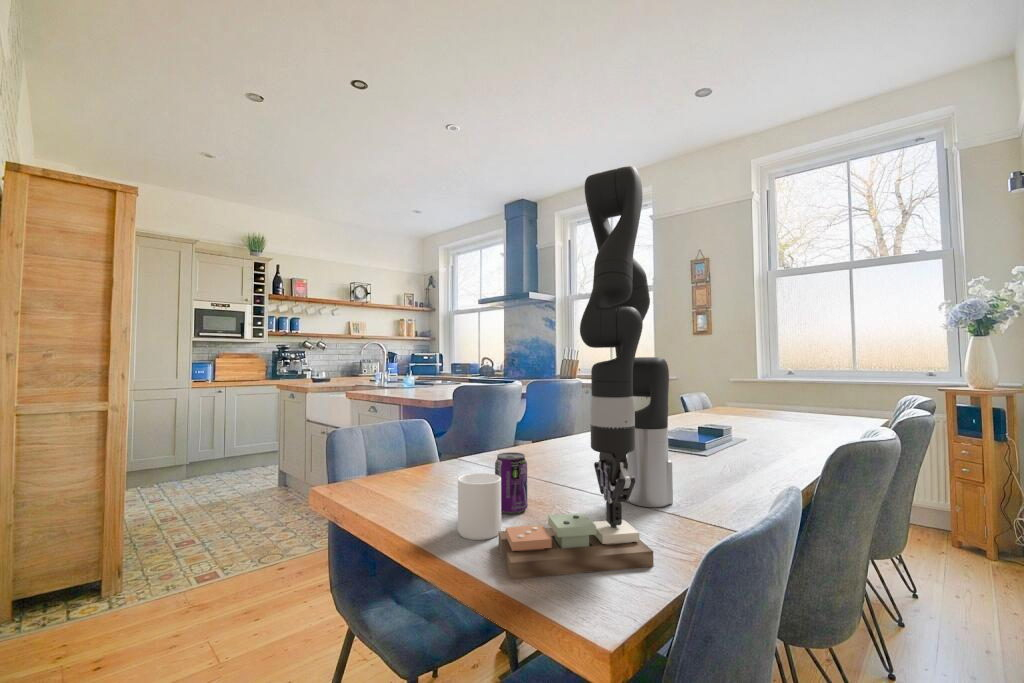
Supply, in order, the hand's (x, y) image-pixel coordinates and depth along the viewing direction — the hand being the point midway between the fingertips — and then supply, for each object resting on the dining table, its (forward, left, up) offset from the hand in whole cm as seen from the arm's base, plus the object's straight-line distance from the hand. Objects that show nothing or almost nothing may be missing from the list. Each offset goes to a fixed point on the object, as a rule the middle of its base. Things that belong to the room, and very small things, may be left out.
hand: (614, 523), depth 80 cm
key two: (+8, 0, -3) cm, 8 cm away
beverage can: (+14, -25, -5) cm, 29 cm away
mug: (+22, -15, -5) cm, 27 cm away
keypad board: (+8, 0, -5) cm, 9 cm away
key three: (+15, 0, -4) cm, 16 cm away
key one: (0, 0, -4) cm, 4 cm away
